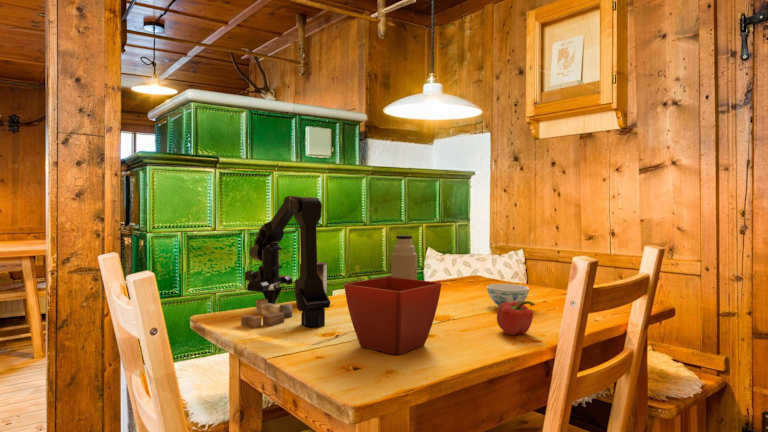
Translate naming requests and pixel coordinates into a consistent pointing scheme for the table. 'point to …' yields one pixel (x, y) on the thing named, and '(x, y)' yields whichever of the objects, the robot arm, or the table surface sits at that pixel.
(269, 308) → the leg
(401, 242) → the thermos bottle
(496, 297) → the chinaware
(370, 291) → the plant pot
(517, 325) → the vegetable
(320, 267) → the coffee box
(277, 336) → the table surface
